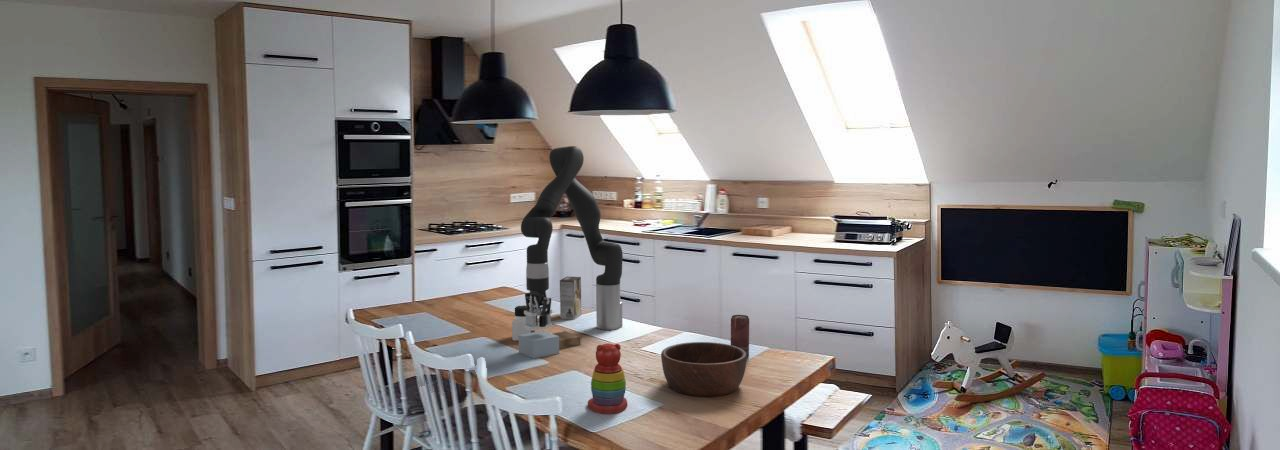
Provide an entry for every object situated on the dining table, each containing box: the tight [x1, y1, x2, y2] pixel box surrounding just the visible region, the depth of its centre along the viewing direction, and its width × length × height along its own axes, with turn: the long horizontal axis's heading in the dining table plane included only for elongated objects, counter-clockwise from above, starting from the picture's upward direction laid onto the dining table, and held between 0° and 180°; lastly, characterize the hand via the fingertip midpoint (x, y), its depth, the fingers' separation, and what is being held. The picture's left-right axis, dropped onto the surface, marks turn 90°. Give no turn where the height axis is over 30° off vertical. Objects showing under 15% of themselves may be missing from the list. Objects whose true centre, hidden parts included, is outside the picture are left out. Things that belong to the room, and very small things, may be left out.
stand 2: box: [552, 330, 582, 350], centre depth 278 cm, size 10×10×3 cm
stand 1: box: [518, 330, 560, 359], centre depth 267 cm, size 10×10×6 cm
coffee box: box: [559, 276, 582, 320], centre depth 321 cm, size 9×6×16 cm
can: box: [730, 314, 750, 359], centre depth 259 cm, size 6×6×14 cm
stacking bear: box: [587, 343, 628, 415], centre depth 210 cm, size 11×10×18 cm
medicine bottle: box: [511, 304, 536, 342], centre depth 286 cm, size 7×7×12 cm
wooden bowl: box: [660, 341, 748, 397], centre depth 229 cm, size 25×25×10 cm
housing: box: [524, 308, 553, 331], centre depth 266 cm, size 8×5×6 cm, turn 128°
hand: (538, 324), depth 266 cm, fingers closed on housing, 5 cm apart
